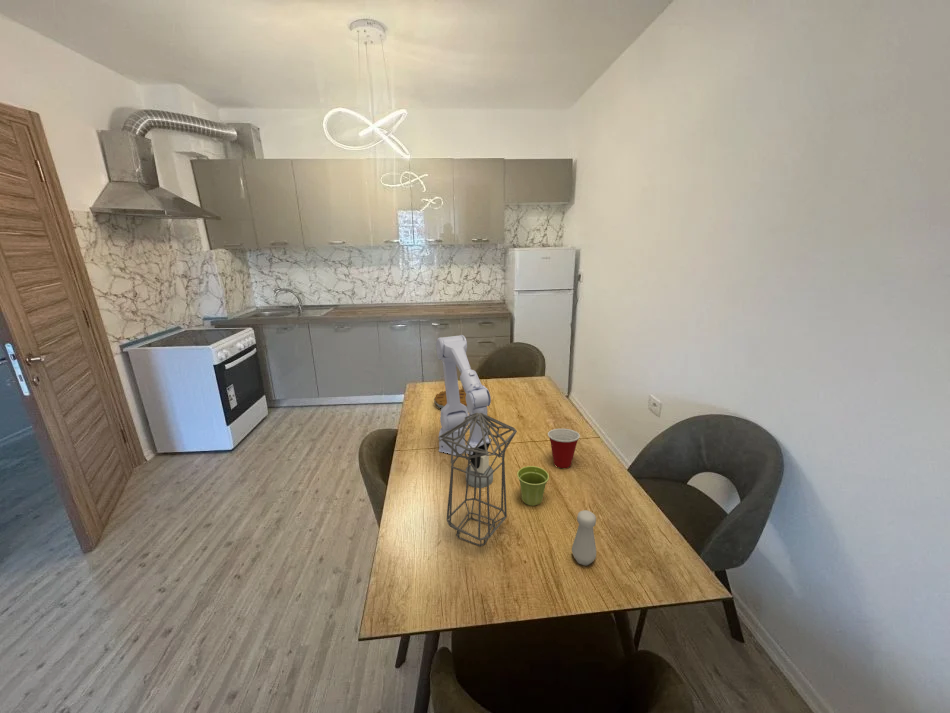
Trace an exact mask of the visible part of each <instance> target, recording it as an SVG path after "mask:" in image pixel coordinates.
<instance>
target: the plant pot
mask: <svg viewBox="0 0 950 713" xmlns="http://www.w3.org/2000/svg"><path fill="white" fill-rule="evenodd" d="M516 474H517V479H518V480H519V486H520V492H521V500H522V501H523V502H524V504H526V505H528V506H531V507H532V506H534V507H535V506H536V505H540V504H542V502H543V498H544V494H545V488H546V485H547V483H548V481H549V479H550V474H549V472H547V470H545V469H544V468H542V467H539V466H536V465H527V466H523V467H522V468H519V469H518V471H517V473H516Z"/></svg>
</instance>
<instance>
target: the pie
mask: <svg viewBox="0 0 950 713" xmlns="http://www.w3.org/2000/svg"><path fill="white" fill-rule="evenodd" d="M459 397H460V403H461V404H463V405H465V406H466V407H467V403H466V393H465V390H464V388H461V389H459ZM433 401H434V403H435V404H436V406H437V408H438V407H439V408H441V409H442V408H443V407H444V406H445V405H446V404H447V398H446V390H444V391H443V390H442V391H440V392H439V393H436V394H435V396H434V398H433ZM439 408H438V409H439ZM441 409H440V410H441Z"/></svg>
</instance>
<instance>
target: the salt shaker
mask: <svg viewBox="0 0 950 713" xmlns="http://www.w3.org/2000/svg"><path fill="white" fill-rule="evenodd" d="M576 521H577V524H578V526H577V527H578V528H577V530H576V532H575V533H576V534H575V537H574V540H573V544H572V546H571V552H572V553H571V554H572V555H573V558H574V559H575V561H576V562H577V564H578V565H581V566H585V567H586V566H589V565H591V564H592V563H593V562H594V560H595V559H596V557H597V546H596V540H595V539H596V538H595V533H594V532H595V531H594V527H595V526H596V524H597V517H596V515H595V514H594V513H593V512H592V511H590V510H587V509H586V510H585V509H584V510H580V511H579V512H578V513H577V517H576Z"/></svg>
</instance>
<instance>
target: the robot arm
mask: <svg viewBox="0 0 950 713" xmlns="http://www.w3.org/2000/svg"><path fill="white" fill-rule="evenodd" d="M435 348H436V349H435V350H436V357H437V360H439V361H441V362H442V370H443V377H444V388H445V389H444V390H445V391H446V398H447V404H446V405H445V406H444V407H443V408H442V409H440V417H439V418H440V420H439V421H440V426H441V428H440V429H439V433H438V437H439V436H440V435H442V434H444V433H445V432H447V431H449V430H451V429H452V428H454V427H456V426H457V425H459V424H461V423H462V422H463V421H464V420H465V417H467V416H469V415H472V414H474V413H483V414H485V415H487V416H488V407H489V406H490V405H491V402H492V398H491V393H490V391H489V389H488V388H487V387H486V386H485V385H483V384H482V382H481V380H480V378H479V376H478V373H477V371H476V370H474V369H472V367H471V365H470V362H469V359H468V356H467V349H468V341H467V338H466V336H465V335H463V334H460V335H453V336H442V337H441V336H440V337H438V338H437V339H436V342H435ZM458 370H459V373H460V376H459V379H458V372H457V371H458ZM459 381H460V383H461V385H462V389H464V390H465V393H466V403H467V407H466V406H465V405H463V404H461V403H460V397H459V390H460V389H459ZM472 416H473V415H472ZM470 417H471V416H470ZM468 419H469V418H468ZM477 419H479V416H478V418H477ZM472 420H473V419H472ZM472 420H471V421H472ZM481 420H482V419H481ZM471 421H469V422H468V423H466V426H465V429H464V431H465V430H466V428H467V427H468V426H469V424H470V423H471ZM478 422H479V421H478ZM479 423H480V422H479ZM473 424H474V422H473V423H472V425H471V426H470V428H469V434H470V433H471V430H472V427H473ZM482 425H483V427H484V424H483V423H482ZM484 428H485V427H484ZM462 429H463V427H461V428H460V434H459V436H460V435H461V432H462ZM486 429H487V428H486ZM487 431H488V430H487ZM463 433H464V432H463ZM485 433H486V432H485V431H484V435H485ZM447 437H451V438H452V434H450V435H449V436H447ZM456 437H458V429H457V430H456V431H454V432H453V438H456ZM489 438H490V437H489ZM441 439H442V438H441V437H440V440H441ZM459 439H460V438H459ZM459 439H457V440H454V442H458V440H459ZM464 439H465V440H466V434H465V435H464ZM464 439H463V438H462V440H461V441H460V443H459V444H461V445H463V446H465V447H466V445H467V444H466V441H465V440H464ZM481 439H482V431H481V427H480V426H479V425H478V424H477V423H476V424H475V427H474V430H473V434H472V437H471V440H470V443H469V444H470V446H471V447H476V446H477V444H478V443H479V442H480V440H481ZM448 440H450V439H448ZM485 440H486V445H487V450H488V451H489V447H490V446H491V445H490V442H489V439H488V436H487V435H486V436H485ZM451 441H452V440H451ZM490 441H491V442H492V441H493V439H492V437H491V438H490ZM448 443H449V444H450V445H451V446H452V443H450V442H448ZM455 445H456V444H454V447H453V448H454V449H455ZM438 446H439V447H438V448H439V449H438V452H439V453H443V452H444V453H443V454H447V453H448V455H451V448H450V447H449V446H448V445H447V444H446V443H444V442H443V441H442V440H441V441H440V442H439V441H438ZM470 446H468V448H470ZM456 448H457V452H458V453H459V454H461V453H462V452H463V451H464V450H465V449H464V448H462V447H460V446H456ZM477 448H479V449H482V450H485V447H484V442H483V440H482V442H481V443H480V445H479V446H478V447H477ZM473 450H475V449H473ZM477 450H478V449H477ZM478 451H481V450H478ZM478 454H481V453H477V455H478ZM466 455H467V456H469V451H466ZM473 455H475V452H471V455H470V456H473ZM453 456H456V453H455V452H454V451H453ZM480 459H481V456H480V457H477V468H479V466H480ZM470 461H471V462H472V464H473V465H474V467H475V458H470Z"/></svg>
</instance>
